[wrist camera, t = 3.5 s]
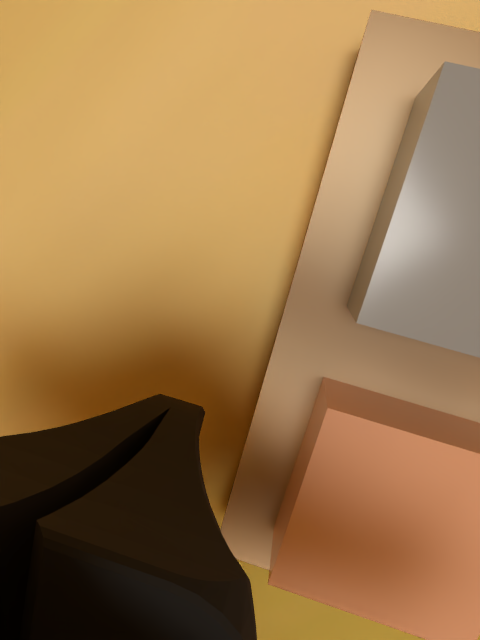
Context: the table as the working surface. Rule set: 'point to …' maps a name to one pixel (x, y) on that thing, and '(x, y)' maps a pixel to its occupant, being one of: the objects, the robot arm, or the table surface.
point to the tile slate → (429, 223)
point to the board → (348, 282)
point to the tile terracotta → (384, 514)
